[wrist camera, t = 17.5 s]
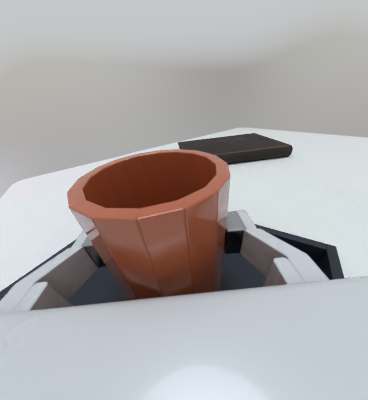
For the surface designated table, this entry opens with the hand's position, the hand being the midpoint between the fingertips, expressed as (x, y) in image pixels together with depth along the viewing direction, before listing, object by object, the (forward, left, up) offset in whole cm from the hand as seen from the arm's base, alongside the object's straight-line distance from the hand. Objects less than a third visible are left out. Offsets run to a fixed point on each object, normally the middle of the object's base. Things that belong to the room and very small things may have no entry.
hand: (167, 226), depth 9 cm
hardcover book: (-7, +33, -6) cm, 34 cm away
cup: (+1, -1, -5) cm, 5 cm away
